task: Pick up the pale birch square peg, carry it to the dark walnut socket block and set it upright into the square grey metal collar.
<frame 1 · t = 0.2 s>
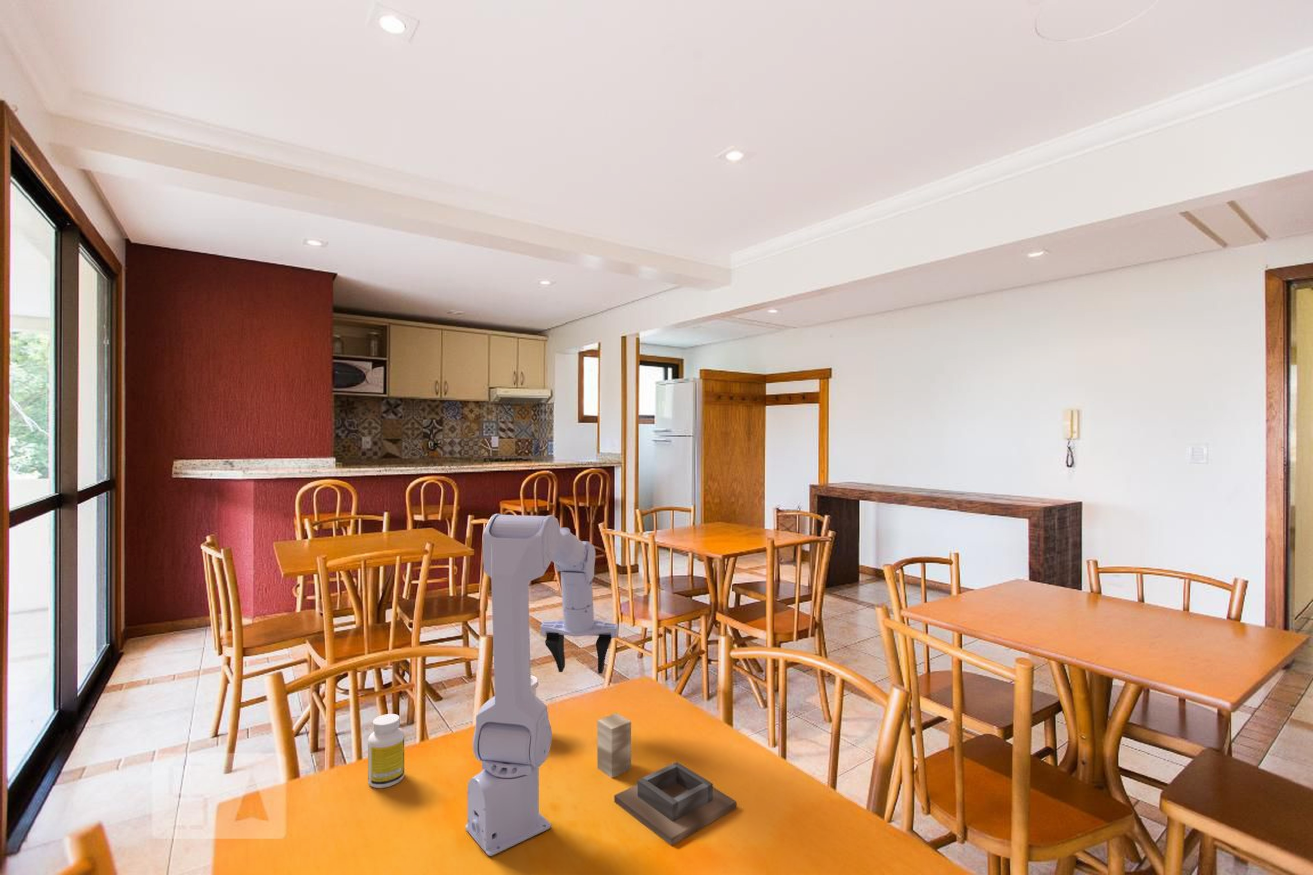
hand: (581, 670, 119), 10 cm above the table, tool pointing down, fingers open, 7 cm apart
supplement bottle: (386, 780, 100), on the table
smoothie: (521, 733, 116), on the table
socket block: (674, 804, 94), on the table
square peg: (614, 768, 104), on the table
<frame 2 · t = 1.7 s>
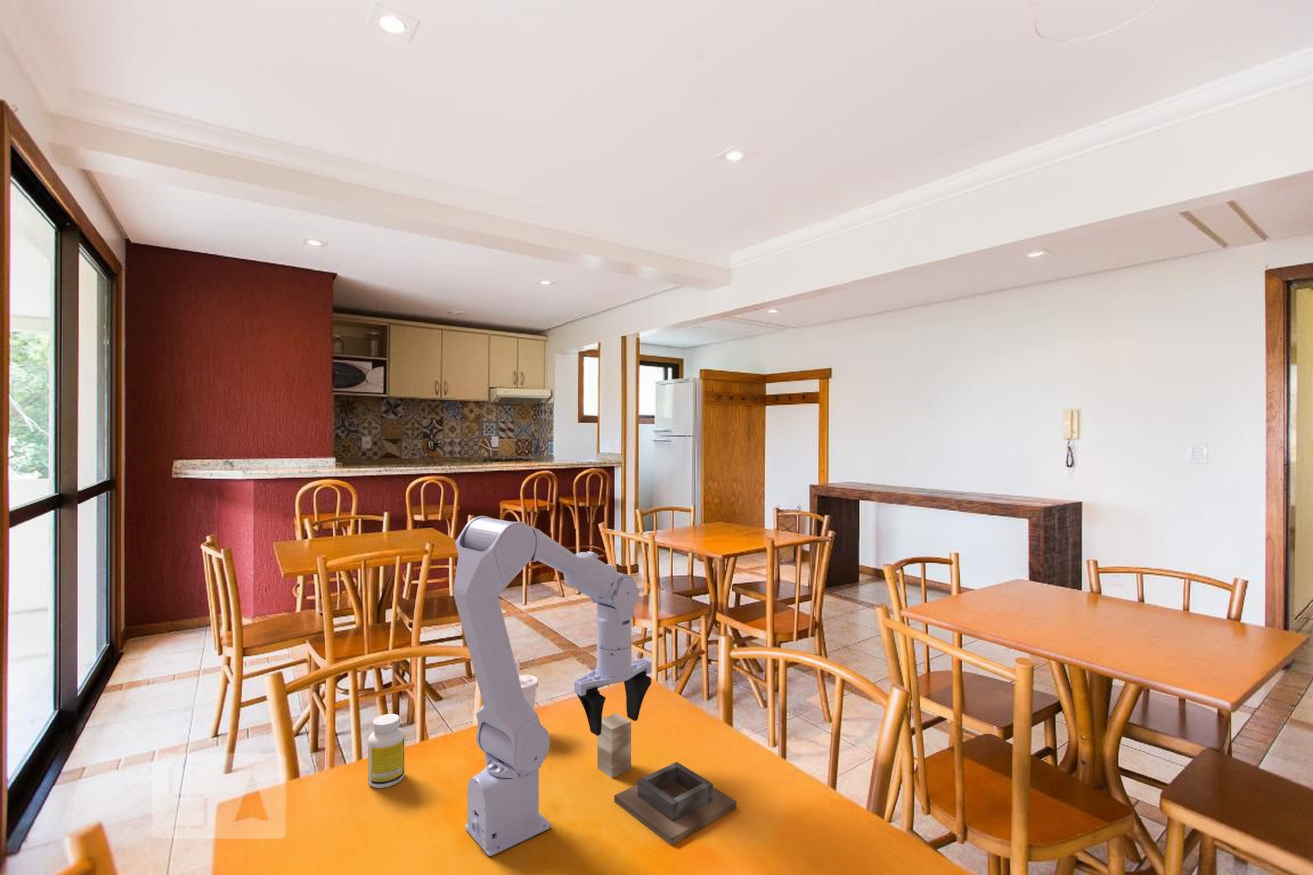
hand: (614, 725, 104), 7 cm above the table, tool pointing down, fingers open, 7 cm apart
nothing on the table moved.
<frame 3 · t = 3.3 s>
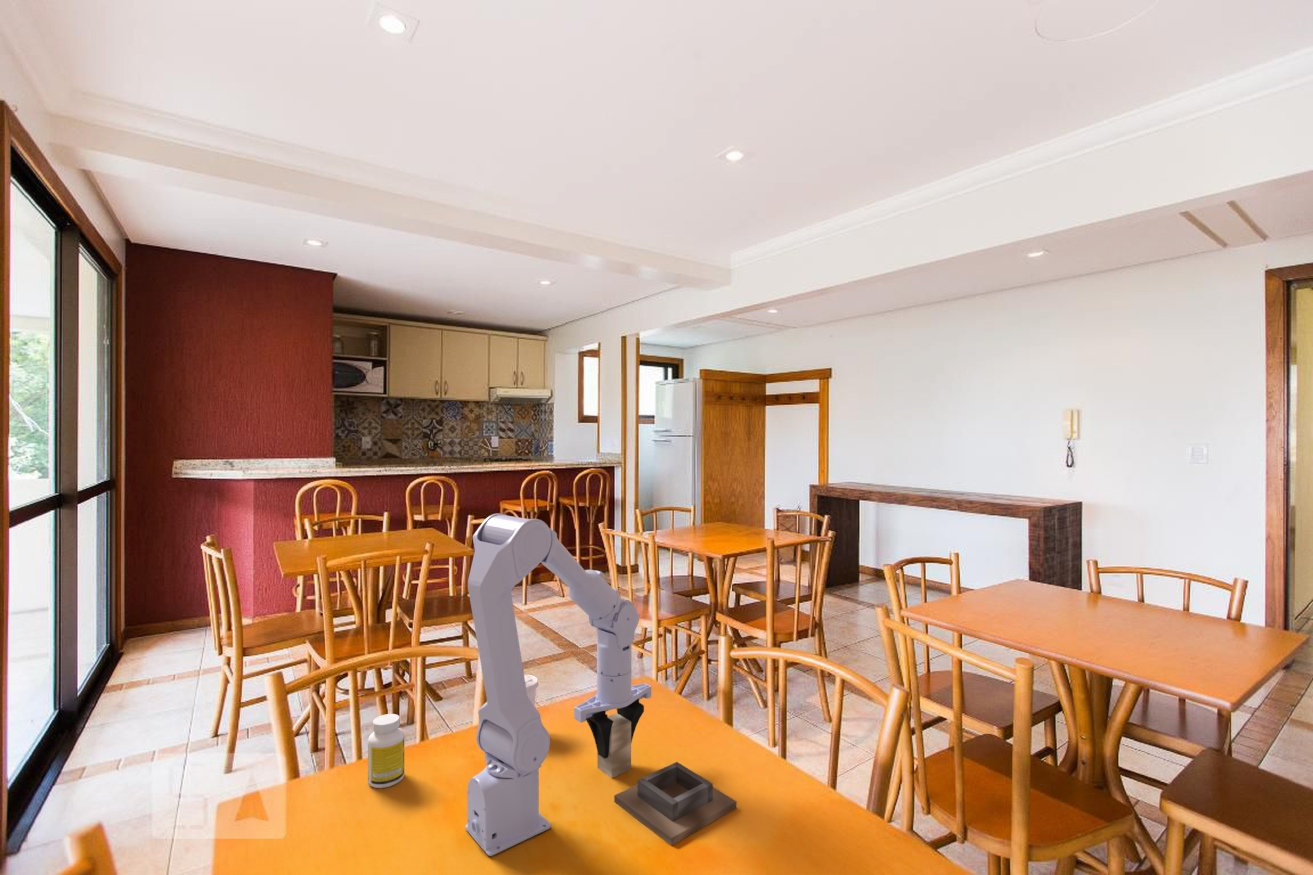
hand: (614, 750, 104), 3 cm above the table, tool pointing down, fingers closed on square peg, 4 cm apart
square peg: (614, 768, 104), on the table, touching gripper
everything else where it was.
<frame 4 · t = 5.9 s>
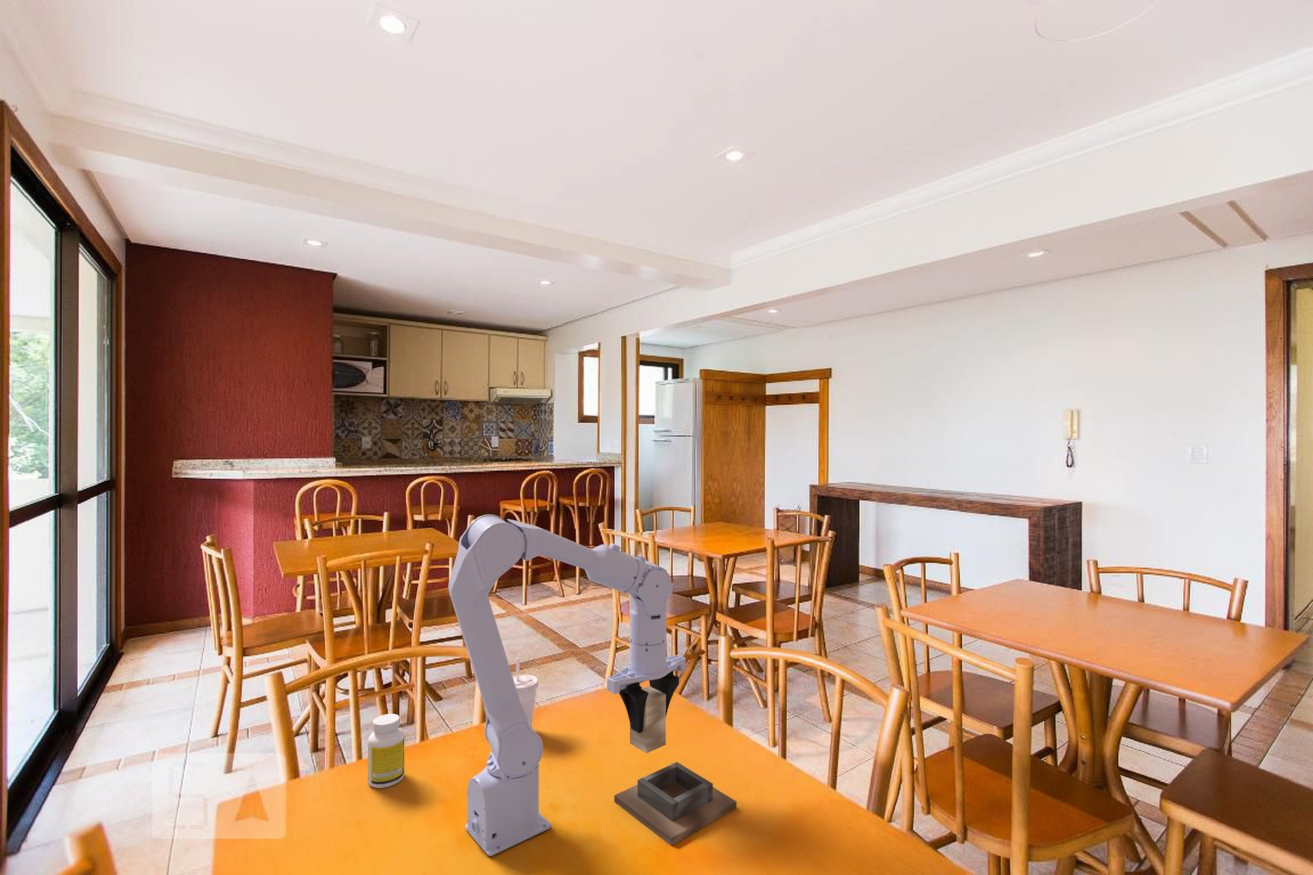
hand: (648, 725, 98), 10 cm above the table, tool pointing down, fingers closed on square peg, 4 cm apart
square peg: (647, 743, 98), point 7 cm above the table, touching gripper
everything else where it was.
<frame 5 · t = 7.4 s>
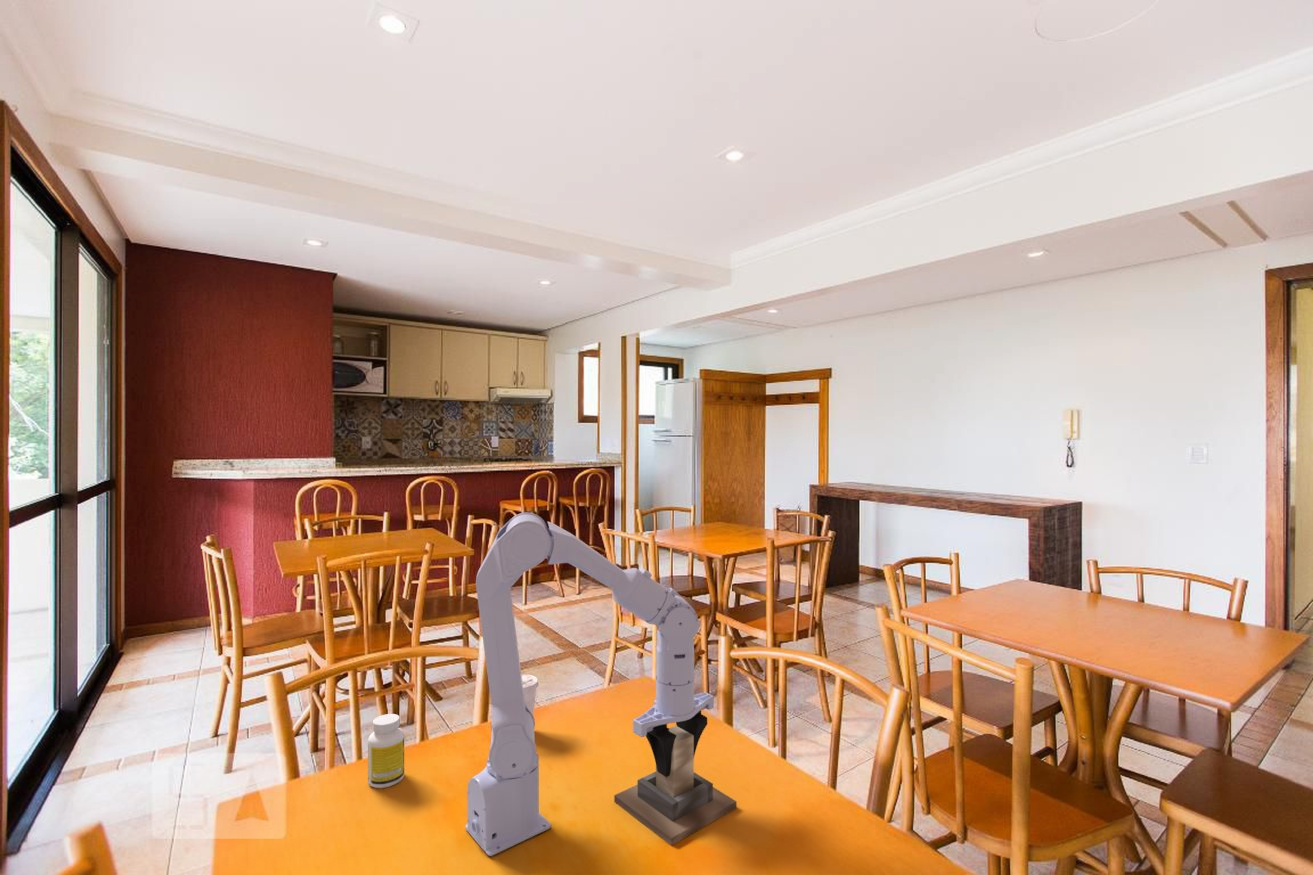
hand: (675, 767, 94), 6 cm above the table, tool pointing down, fingers closed on square peg, 4 cm apart
square peg: (674, 787, 94), point 3 cm above the table, touching gripper
everything else where it was.
when the fingers open (5 cm above the table, at t = 8.6 s): square peg drops 1 cm, resting on socket block.
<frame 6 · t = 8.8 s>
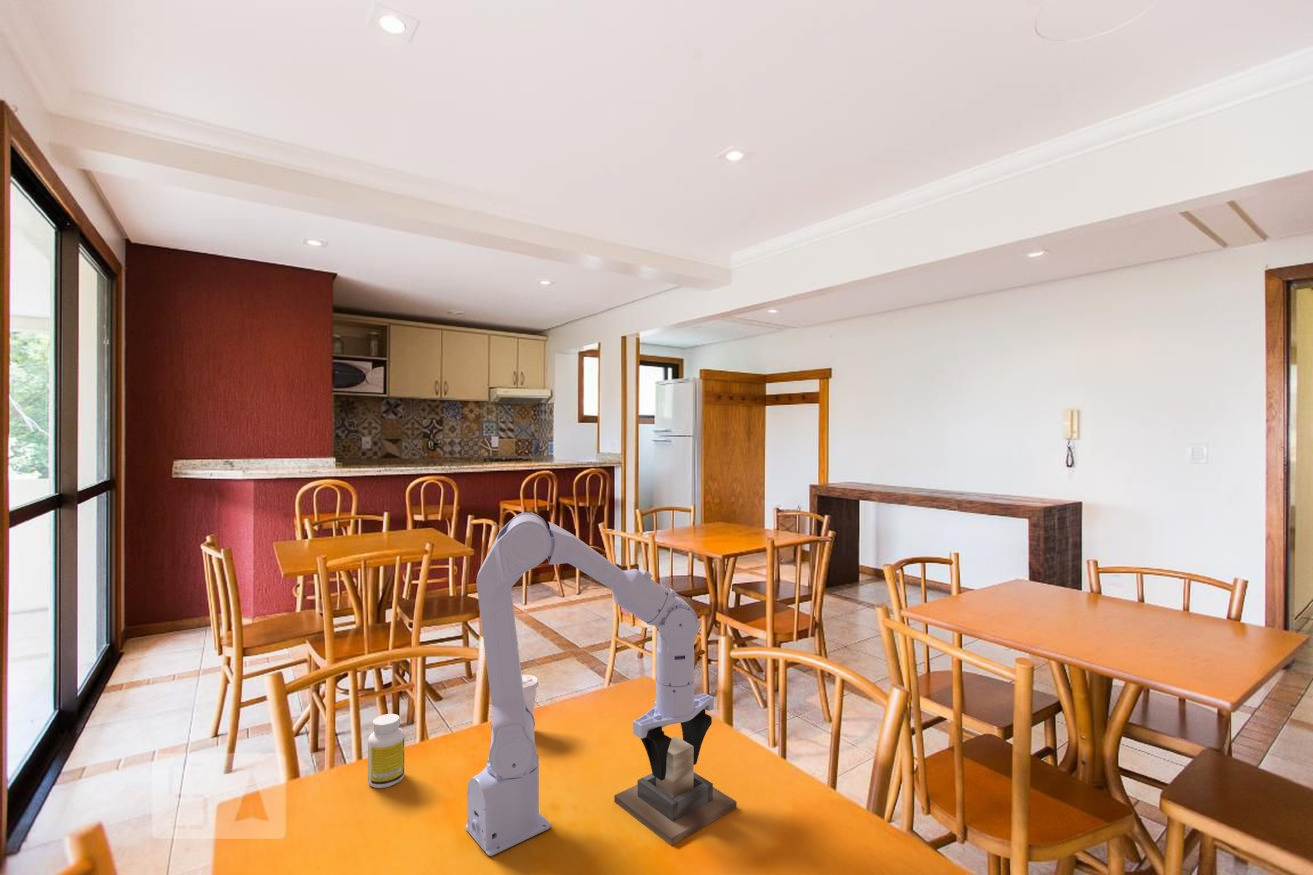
hand: (675, 769, 94), 5 cm above the table, tool pointing down, fingers open, 6 cm apart
square peg: (674, 797, 94), point 1 cm above the table, touching socket block
everything else where it was.
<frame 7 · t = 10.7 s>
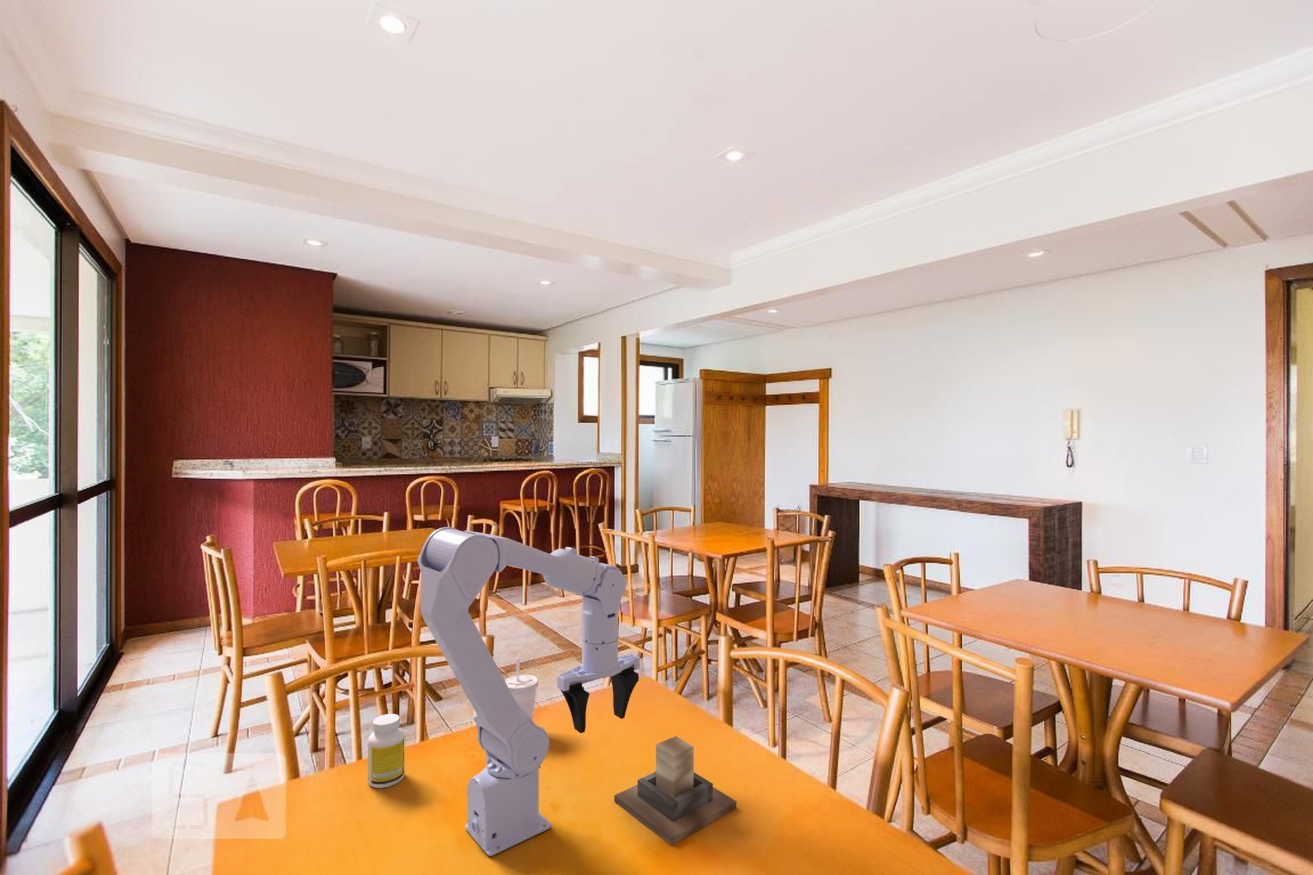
hand: (599, 723, 100), 9 cm above the table, tool pointing down, fingers open, 7 cm apart
nothing on the table moved.
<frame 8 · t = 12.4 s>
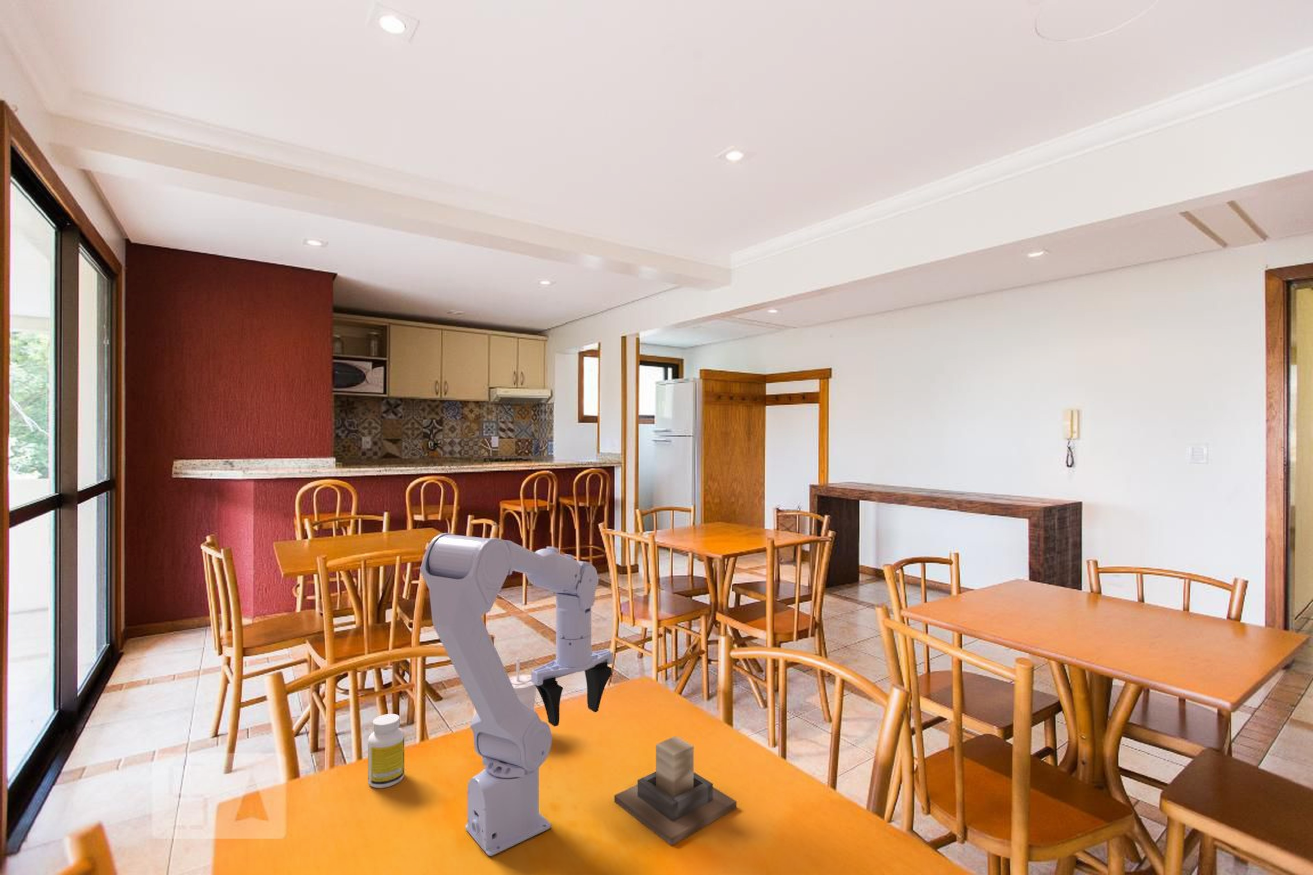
hand: (573, 716, 102), 9 cm above the table, tool pointing down, fingers open, 7 cm apart
nothing on the table moved.
at the end: square peg 0.1 cm off-centre on the socket block, point 1.0 cm above the socket block's base; square peg tilted 0°; the gripper is holding nothing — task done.
